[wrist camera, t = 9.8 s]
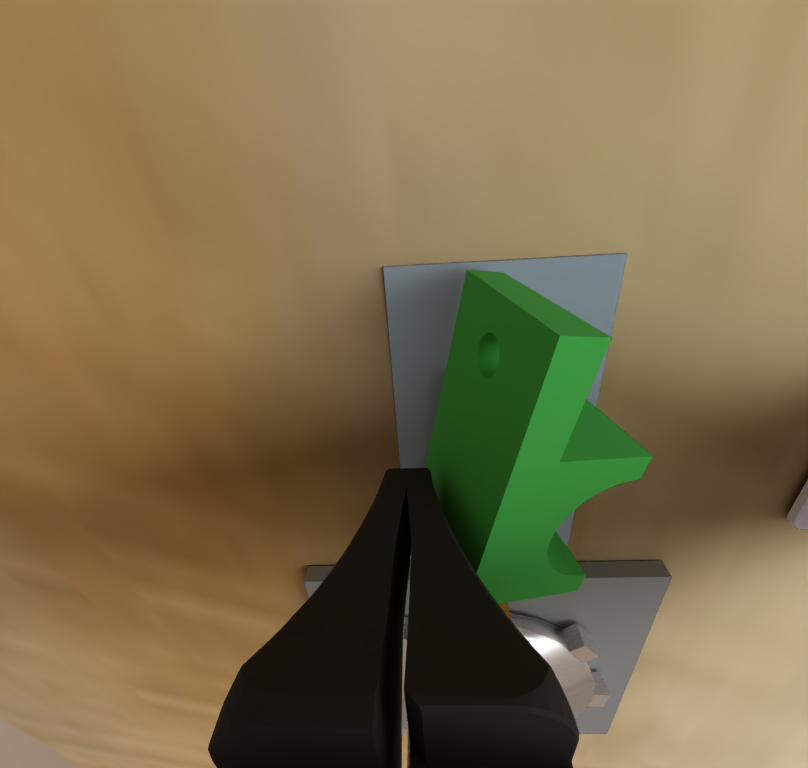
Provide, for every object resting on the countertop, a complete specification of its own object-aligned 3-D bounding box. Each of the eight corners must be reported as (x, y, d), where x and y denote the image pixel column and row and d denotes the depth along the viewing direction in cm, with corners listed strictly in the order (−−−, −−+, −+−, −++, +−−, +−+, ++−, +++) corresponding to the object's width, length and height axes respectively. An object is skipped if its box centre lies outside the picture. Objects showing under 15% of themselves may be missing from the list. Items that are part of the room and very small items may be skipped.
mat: (622, 251, 12) (627, 253, 11) (563, 550, 18) (565, 556, 18) (384, 265, 12) (383, 267, 12) (407, 553, 18) (407, 559, 18)
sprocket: (502, 563, 17) (529, 688, 13) (648, 680, 21) (702, 801, 17) (311, 666, 21) (286, 783, 17) (463, 746, 25) (471, 854, 21)
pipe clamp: (490, 534, 17) (546, 646, 13) (407, 543, 16) (442, 667, 12) (583, 277, 12) (724, 344, 8) (466, 267, 11) (563, 338, 7)
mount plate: (661, 560, 18) (671, 576, 17) (601, 718, 25) (606, 734, 24) (308, 566, 19) (303, 581, 18) (348, 716, 26) (347, 732, 25)
